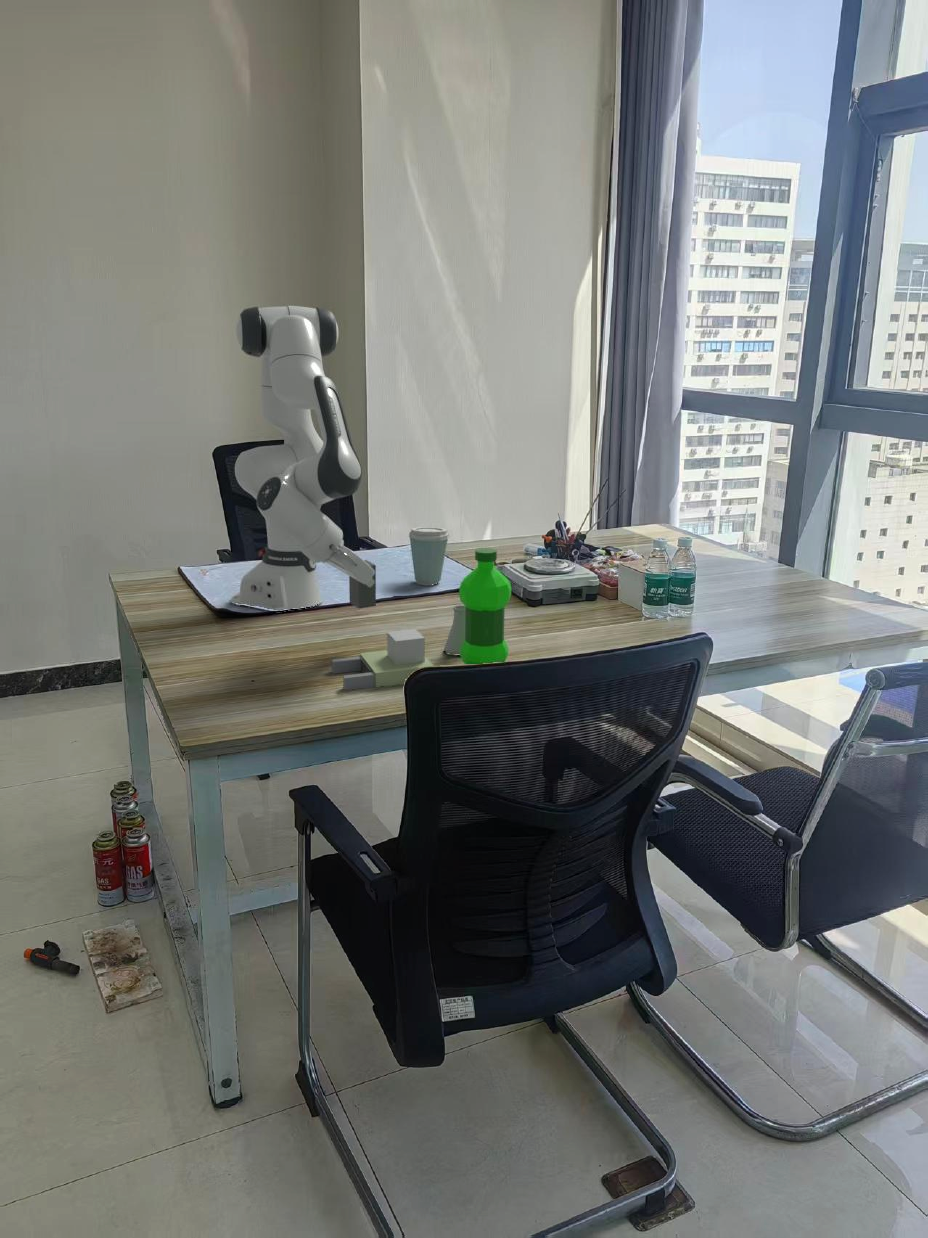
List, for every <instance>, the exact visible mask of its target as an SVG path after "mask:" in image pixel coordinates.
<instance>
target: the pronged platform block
mask: <svg viewBox="0 0 928 1238" xmlns="http://www.w3.org/2000/svg"><path fill="white" fill-rule="evenodd" d="M425 639H426V638H425V637H424V636H423V635H422V634H421V632H419V631H418V629H416V628H411V629H401V630H392V631H387V632H386V641H387V644H386V646H387V647H386V648H387V650H386V649H385V650H376V651H367V652H360V653H359V656H352V657H344V658H343V657H341V658H335V659H331V672H332V673H333V675H335V674H343V673H351V672H358V671H359V672H360V671H361V672H362V673H356V674H354V673H353V674H346V675H343V676H342V686H343V689H344V691H351V690H352V689H353V690H358V688H361V689H367V688H381V687H380V686H384V687H391V686H398V684H400V685H404V684H403V683H404V682H405V679H406V678H408V676H409V675H411V673H412V672H413V671H415V670H417V669H419V668H421V667H427V666H434V667H435V665H434V664H433V663H432V662H431V660H429V659H428V658H427V657H426V655H425V654H426V653H425V652H426V647H425V644H426V643H425V642H426V640H425ZM374 686H376V687H374Z"/></svg>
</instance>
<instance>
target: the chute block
mask: <svg viewBox="0 0 928 1238" xmlns="http://www.w3.org/2000/svg"><path fill="white" fill-rule="evenodd" d="M363 560H364V561H365V562H366V563H367V564H368V565H369V566H371V567H372V568H373V569H374V571H375V574H374V575H373V577H372V579H373V580H374V581H375V583H374V584H373V585H372V587H368V586H366V585H365V584H362V583H361V582H359V581H357V580H356V579H354V578H352V577H350V576H349V575H348V577H349V579H348V581H349V588H348V590H349V592H348V593H349V604H351V605H352V606H354V607H355V608H357V609H359V610H360V609H365V608H369V607H370V608H372V607H377V580H376V577H377V573H376V572H377V571H376V570H377V569H376V568H377V567H376V564H374V563H373V562H371V561H368V559H367V560H366V559H363Z"/></svg>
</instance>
